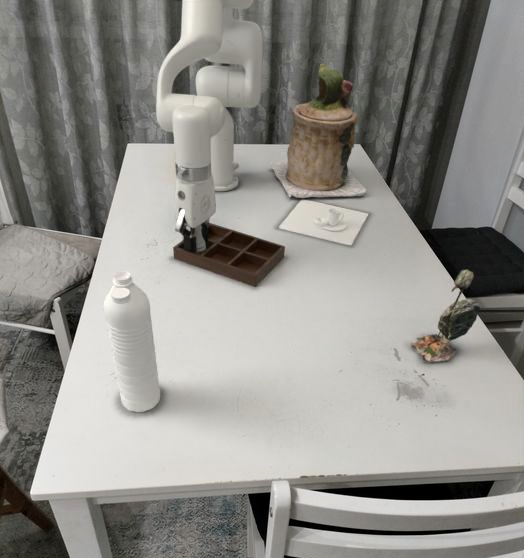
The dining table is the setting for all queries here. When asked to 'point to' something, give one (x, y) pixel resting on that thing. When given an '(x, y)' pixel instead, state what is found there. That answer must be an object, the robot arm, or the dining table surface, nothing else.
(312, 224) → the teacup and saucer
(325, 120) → the cookie jar
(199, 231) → the rook chess piece
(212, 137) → the robot arm
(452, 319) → the plant with pod
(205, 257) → the tray
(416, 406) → the dining table surface
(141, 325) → the water bottle
